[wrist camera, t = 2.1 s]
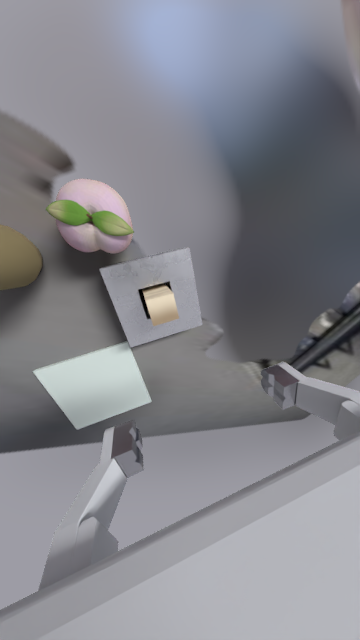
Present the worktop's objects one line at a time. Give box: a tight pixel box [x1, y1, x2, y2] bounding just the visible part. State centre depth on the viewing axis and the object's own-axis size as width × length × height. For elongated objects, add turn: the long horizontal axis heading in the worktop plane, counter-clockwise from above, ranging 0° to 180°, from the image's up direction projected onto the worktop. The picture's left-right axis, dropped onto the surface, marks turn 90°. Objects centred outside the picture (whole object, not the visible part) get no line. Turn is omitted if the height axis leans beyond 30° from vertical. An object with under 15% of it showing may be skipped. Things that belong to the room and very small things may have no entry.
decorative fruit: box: [46, 179, 134, 254], centre depth 22 cm, size 9×8×10 cm
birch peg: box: [142, 283, 179, 326], centre depth 28 cm, size 4×4×10 cm
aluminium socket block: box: [99, 248, 202, 347], centre depth 31 cm, size 14×14×5 cm
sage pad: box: [33, 341, 152, 430], centre depth 37 cm, size 18×18×1 cm
